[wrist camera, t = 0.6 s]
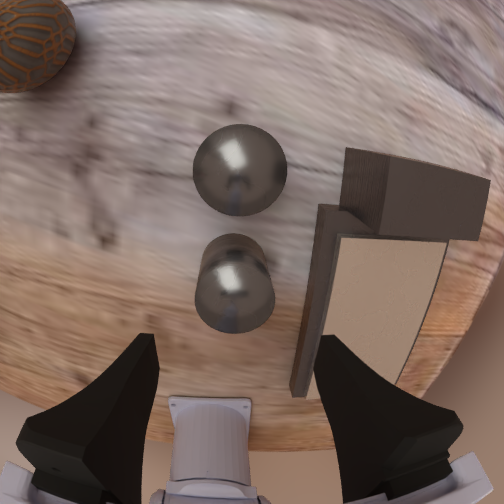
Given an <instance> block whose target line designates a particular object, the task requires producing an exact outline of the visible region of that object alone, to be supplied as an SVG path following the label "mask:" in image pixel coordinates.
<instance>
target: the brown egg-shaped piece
mask: <svg viewBox="0 0 504 504" xmlns="http://www.w3.org/2000/svg"><path fill="white" fill-rule="evenodd" d="M75 37H76V26H75V21H74V18H73V15H72V13H71V11H70V10H69V8H68V7H67V6H66V5H65V4H64V3H63V2H62V1H61V0H1V1H0V92H2V93H18V92H24V91H27V90H31V89H33V88H36V87H38V86H40V85H42V84H43V83H45V82H47V81H48V80H50V79H51V78H52V77H53V76H54V75H55V74H56V73H57V72H58V71H59V70H60V69H61V68H62V67H63V65H64V64H65V62H66V61H67V59H68V58H69V56H70V54H71V51H72V49H73V46H74V42H75Z"/></svg>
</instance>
